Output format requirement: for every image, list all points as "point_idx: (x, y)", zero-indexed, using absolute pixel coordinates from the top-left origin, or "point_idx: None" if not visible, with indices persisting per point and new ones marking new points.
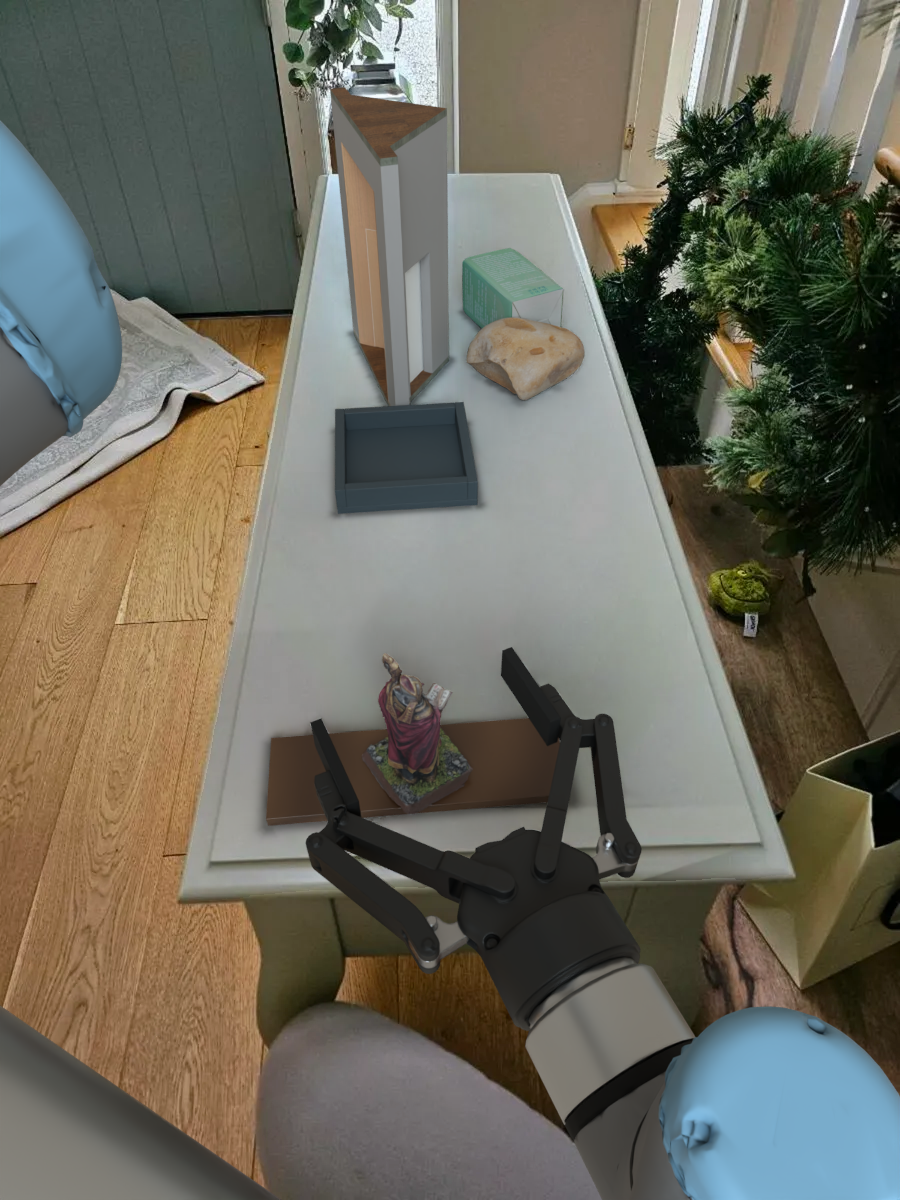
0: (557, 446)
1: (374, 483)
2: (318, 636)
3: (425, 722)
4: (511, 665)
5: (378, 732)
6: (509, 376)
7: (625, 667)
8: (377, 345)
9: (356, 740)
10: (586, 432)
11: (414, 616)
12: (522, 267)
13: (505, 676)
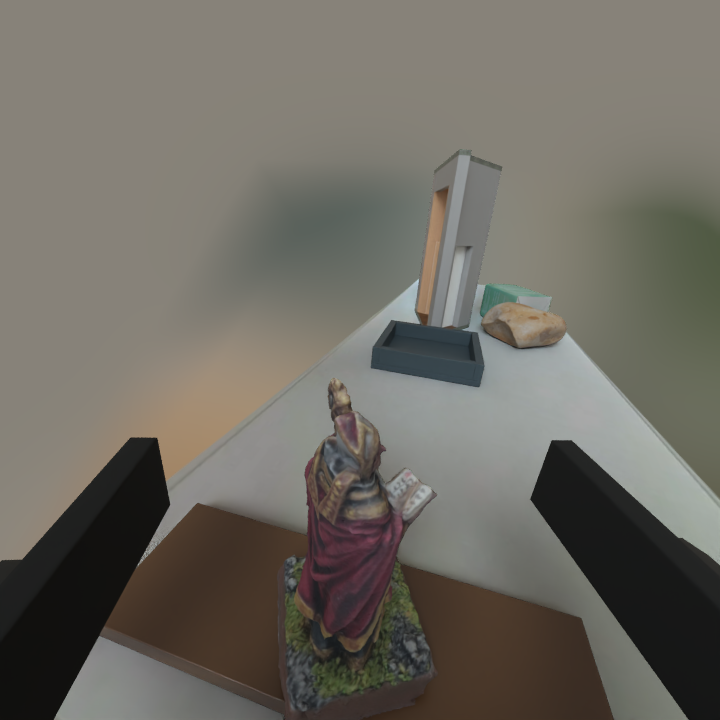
0: (545, 373)
1: (403, 349)
2: (313, 431)
3: (365, 532)
4: (577, 469)
5: None
6: (511, 329)
7: None
8: (426, 313)
9: (285, 543)
10: (568, 371)
11: (406, 442)
12: (523, 289)
13: (545, 500)
